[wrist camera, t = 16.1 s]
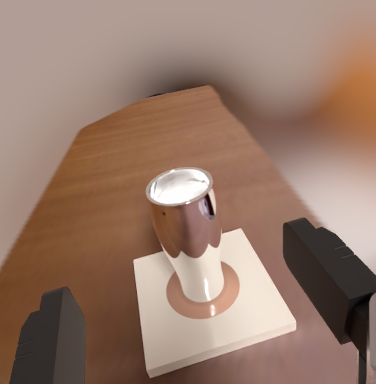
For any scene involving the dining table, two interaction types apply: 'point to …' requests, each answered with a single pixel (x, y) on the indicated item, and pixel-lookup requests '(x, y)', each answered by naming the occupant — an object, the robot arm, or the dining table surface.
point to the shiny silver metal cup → (190, 232)
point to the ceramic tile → (207, 309)
